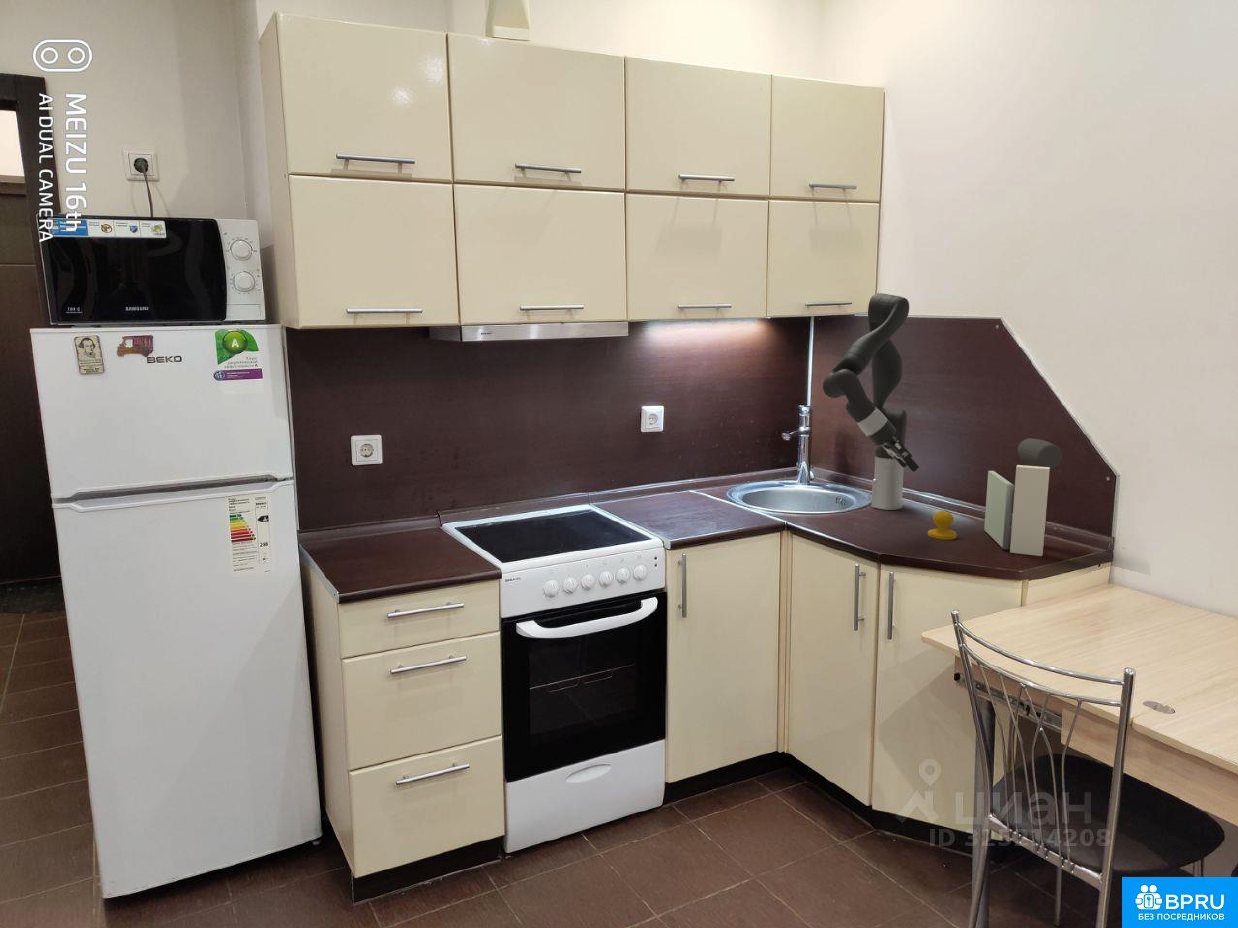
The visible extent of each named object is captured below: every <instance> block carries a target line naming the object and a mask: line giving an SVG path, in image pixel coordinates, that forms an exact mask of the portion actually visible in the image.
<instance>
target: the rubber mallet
mask: <svg viewBox="0 0 1238 928" xmlns="http://www.w3.org/2000/svg"><path fill="white" fill-rule="evenodd" d="M1017 455H1018V457H1019V459H1021V460H1022V461H1023V462H1025V463H1027V464H1029V465H1030V466H1039V467H1050V470H1051V469H1053V468H1056V467H1057V466H1059V464H1060V463H1061V461H1062V459H1063V456H1062V455H1063V454H1062V450H1061V448H1059V446H1057V445H1055V444H1053V443H1051V442H1049V441H1046V440H1044V439H1038V438H1031V437H1030V438H1025V439H1023V440H1022V441H1020V443H1019V444H1018V448H1017Z"/></svg>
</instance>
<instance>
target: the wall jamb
mask: <svg viewBox="0 0 1238 928" xmlns="http://www.w3.org/2000/svg"><path fill="white" fill-rule="evenodd" d="M1050 470H1051V469H1050V467H1039V466H1033V465H1021V464H1017V465H1016V469H1015V479H1014V480H1015V481H1014V494H1013V508H1012V521H1011V534H1010V548H1009V553H1010V554H1011V553H1013V554H1020V555H1028V556H1037V557H1043V554H1044V553H1043V552H1044V542H1045V541H1044V540H1045V533H1046V532H1045V530H1046V529H1045V528H1046V518H1047V507H1048V505H1047V504H1048V495H1049V494H1048V493H1049V481H1050V480H1049V479H1050Z"/></svg>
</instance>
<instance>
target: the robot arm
mask: <svg viewBox="0 0 1238 928" xmlns="http://www.w3.org/2000/svg"><path fill="white" fill-rule="evenodd" d="M867 306H868V307H867V319H868V328H869V332H868V333H866V334H865V335H862V336H861V337H859V338H858V339H856V341H854V342H853V343H852V344H851V346H850V347H849V348H848V350H847V351H846V353H845V355H843V357H842V359H841V360H840V361H839V362H838V363H837V364H836V365H835V366H833V368H832V370H830V372H828V373H827V375H826V376H825V378H824V380H823V383H822V391H823V393H824V394H825V395H826V396H827V397H828V398H831V399H838V398H841V397H843V396H845V397H846V399H847V401H848V402H847V403H846V404H845V410H846V412H847V413H848V414H849V416H850V417H851V418H852V419H853V420H854V422H855V423H856V424H857V426H858V428H859V429H860V430H861V431H862V432H863V434H865V436H866V437H867V438H868V439H869V441H870V442H871V443H872V445H874V447H876V448H875V451H874V452H875V453H874V478H873V479H872V487H871V489H872V490H871V508H874V509H879V510H885V511H895V510H896V511H897V510H901V509H902V507H903V506H902V504H903V490H904V487H903V486H904V468H906V467H908V468H909V470H910V471H912V472H914V473H915V472H916V471H917V470H918V469H919V468H920V466H919V465H918V463H916V461H915V460H914V459H913V454H912V453H910V451H909V450H908V449H907V448H906V446H905V445H906V435H907V434H906V433H907V427H908V426H907V425H908V413H907V411H906V410H905V409H903V408H889V407H887V408H884V405H885V403H886V401H887V400H888V398H889V397H890V395H891V394H892V393H893V391H894V390H895V389H896V388H897V387H898V385H899V384H900V383H901V380H902V377H903V359H902V356H901V353H900V351H899V349H898V348H897V347H896V345H895V343H894V342H893V340H892V339H891V338H892V336H894V334H895V333H897V331H899V330H900V328H901V327H902V326H903V325H904V324H905V322H906V320H907V318H908V317H909V313H910V302H909V300H908V299H907V298H906V297H903V296H900V295H893V294H887V293H883V292H877V293H874V294H873V295H872V296H871V297H870V299H869V302H868V305H867ZM870 361H871V382H872V400H871V399H870V398H869V397H868V396H867V393H866V391H865V389H864V387H863V385H862V383H861V381H860V379H859V377H858V376H859V375H861V374H863V372H864V371H865V370H866V368H867V366H868V365H869V363H870ZM905 455H906V456H905Z"/></svg>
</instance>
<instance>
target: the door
mask: <svg viewBox="0 0 1238 928" xmlns="http://www.w3.org/2000/svg"><path fill="white" fill-rule="evenodd" d="M987 473H988V474H987V483H986V484H987V485H986V486H987V487H986V499H985V513H984V514H985V515H984V527H983V528H984V529H983V530H984V531H985V532H986V533H987V534H988V535H989V536H990V537H991V538H992V539H993V540H994V541H995V542H996V543H997V544H998V545H999V546H1000V547H1001V549H1003V550H1010V545H1011V532H1012V518H1013V505H1014V492H1015V484H1013V483H1011V482H1010V481H1008V480H1007V479H1006V478H1005V477H1003V476H1002V475H1000V473H999V474H998V473H997V472H996V471H995V470H988V471H987Z"/></svg>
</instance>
